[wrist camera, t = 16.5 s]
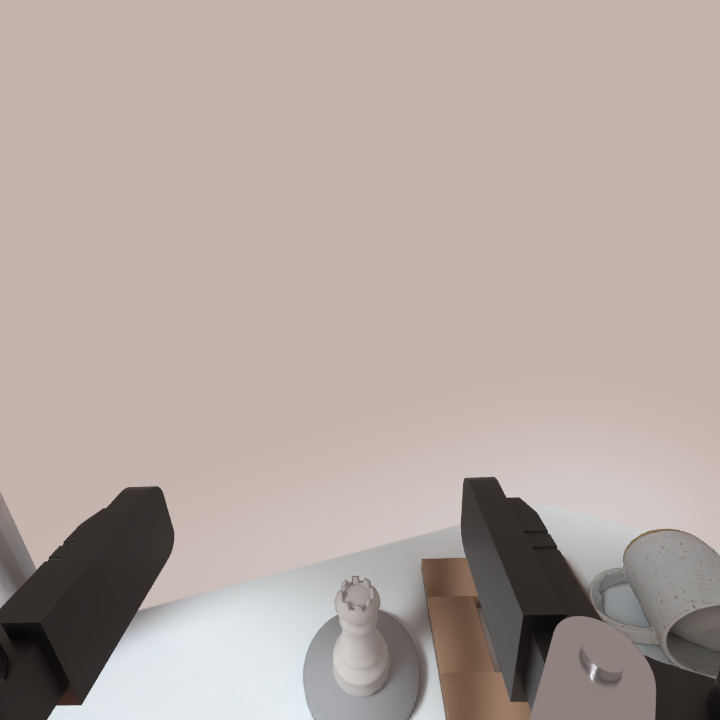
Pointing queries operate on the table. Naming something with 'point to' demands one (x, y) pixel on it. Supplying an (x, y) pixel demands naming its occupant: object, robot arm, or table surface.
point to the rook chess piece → (359, 640)
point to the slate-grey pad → (372, 712)
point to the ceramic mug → (671, 597)
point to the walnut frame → (465, 646)
